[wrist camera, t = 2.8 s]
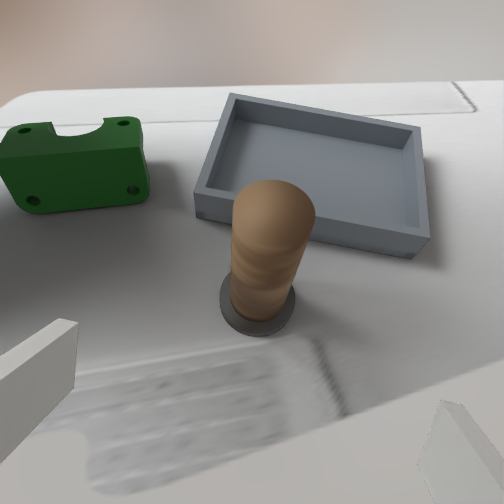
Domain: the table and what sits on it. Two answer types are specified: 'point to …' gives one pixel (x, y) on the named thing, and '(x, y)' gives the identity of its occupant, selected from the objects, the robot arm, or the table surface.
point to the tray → (322, 171)
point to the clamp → (74, 166)
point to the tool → (265, 255)
